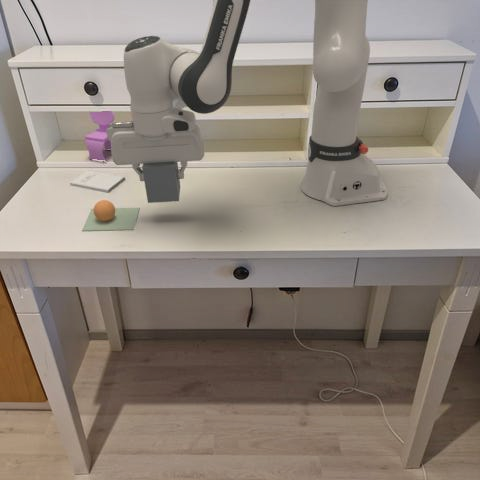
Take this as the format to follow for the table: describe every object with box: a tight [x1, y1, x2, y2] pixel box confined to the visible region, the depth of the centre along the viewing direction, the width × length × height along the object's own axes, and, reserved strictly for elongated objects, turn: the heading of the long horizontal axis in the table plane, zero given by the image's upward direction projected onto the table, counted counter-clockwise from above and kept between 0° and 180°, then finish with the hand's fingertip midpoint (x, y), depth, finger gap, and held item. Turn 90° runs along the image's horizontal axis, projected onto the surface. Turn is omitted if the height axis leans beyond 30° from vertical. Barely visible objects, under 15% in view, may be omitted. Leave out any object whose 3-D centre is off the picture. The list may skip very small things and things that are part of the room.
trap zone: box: [81, 207, 141, 232], centre depth 113 cm, size 12×10×1 cm
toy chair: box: [84, 110, 115, 161], centre depth 139 cm, size 8×9×15 cm
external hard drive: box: [69, 170, 126, 194], centre depth 129 cm, size 2×8×12 cm
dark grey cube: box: [141, 162, 181, 204], centre depth 107 cm, size 7×7×9 cm
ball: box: [93, 199, 116, 221], centre depth 112 cm, size 5×5×5 cm
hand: (162, 178), depth 107 cm, fingers closed on dark grey cube, 7 cm apart
